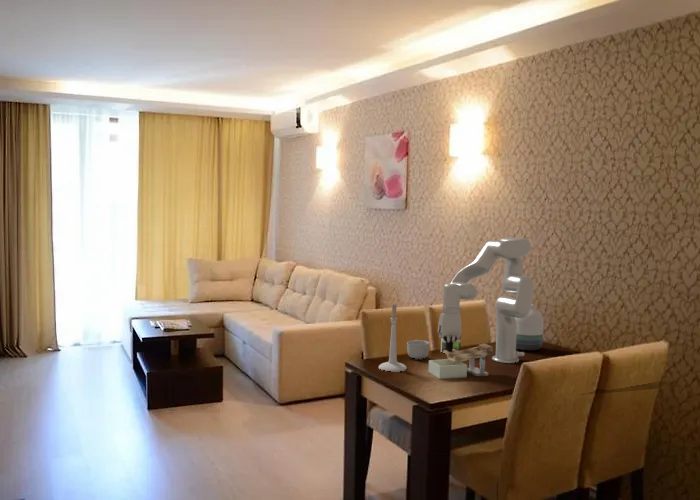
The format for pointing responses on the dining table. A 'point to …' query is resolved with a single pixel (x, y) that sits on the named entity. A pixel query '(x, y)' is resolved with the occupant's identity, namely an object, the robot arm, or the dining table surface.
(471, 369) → the lever stand
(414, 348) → the teacup
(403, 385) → the dining table surface
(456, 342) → the coffee can
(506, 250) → the robot arm
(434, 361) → the pale green open box
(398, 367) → the candlestick
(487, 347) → the lever
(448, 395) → the dining table surface
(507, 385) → the dining table surface
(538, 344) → the vase
